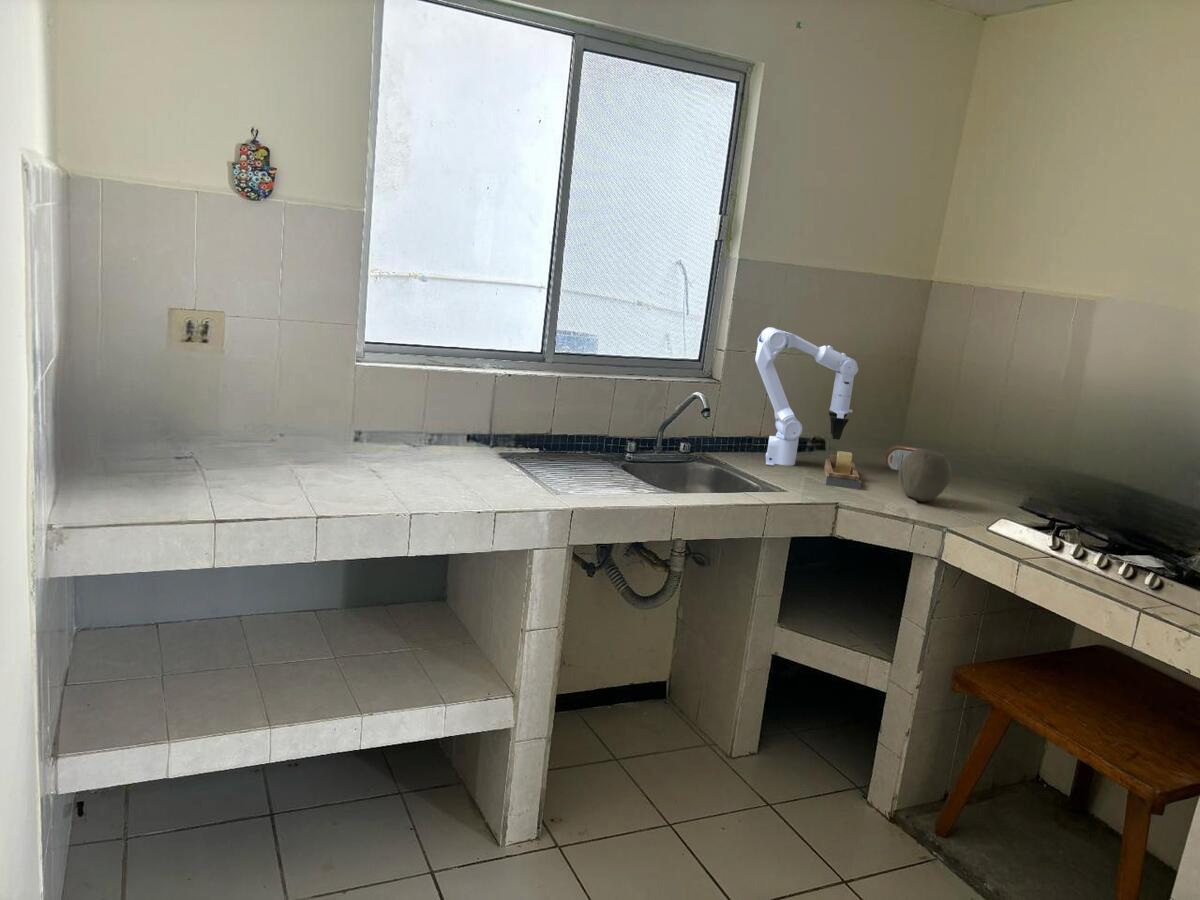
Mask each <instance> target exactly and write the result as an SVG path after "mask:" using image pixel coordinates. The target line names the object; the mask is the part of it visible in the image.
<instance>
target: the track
mask: <svg viewBox="0 0 1200 900" xmlns="http://www.w3.org/2000/svg"><path fill="white" fill-rule="evenodd" d="M862 483H863V482H862V480H852V479H845V478H837V477H830V476H826V475H825V483H824V484H825V486H831V487H837V488H838V487H839V488H846V489H853V490H861V487H862Z"/></svg>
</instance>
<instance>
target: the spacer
mask: <svg viewBox="0 0 1200 900" xmlns="http://www.w3.org/2000/svg"><path fill="white" fill-rule="evenodd" d="M836 455H837V459H836V466H835V472H834V473H840V474H848V475H849V473H850V467H851V462H852V458H853V453H852V452H849V451H841V450H837V454H836Z"/></svg>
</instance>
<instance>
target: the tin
mask: <svg viewBox="0 0 1200 900" xmlns="http://www.w3.org/2000/svg"><path fill="white" fill-rule="evenodd" d="M917 449H922V448H920V447H913V446H903V445H893V446H891V447H889V448H888V449H887V450H886V451H885V453H884V456H883V460H884V461H883V462H884V463H885V464H884V465H885V466H887V468H888V469H889V470H896V471H898V472H899V469H900V466H901V464H902V462H903V460H904V459H905V458H906V457H907V455H908V454H910V453H911V452H912V451H914V450H917Z"/></svg>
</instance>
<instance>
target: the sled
mask: <svg viewBox="0 0 1200 900" xmlns="http://www.w3.org/2000/svg"><path fill="white" fill-rule="evenodd" d="M836 459H837V454H830V455H829V458H825V461H824V467H823V469H824V473H825V474H824V475H825V477H826V476H830V477H837V478H845V479H852V480H859V479H860V476H859V472H858V470H857V467H856V465H855V463H854V461H851V467H850V473H849V475H848V474H840V473H834V472H835V466H836ZM859 481H860V480H859Z"/></svg>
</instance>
